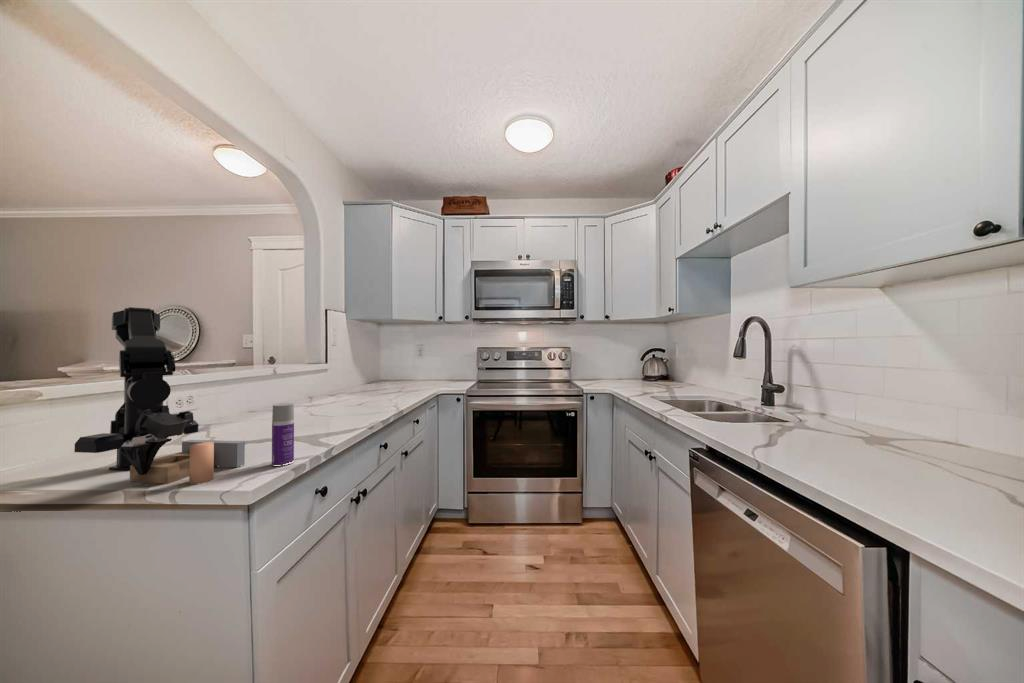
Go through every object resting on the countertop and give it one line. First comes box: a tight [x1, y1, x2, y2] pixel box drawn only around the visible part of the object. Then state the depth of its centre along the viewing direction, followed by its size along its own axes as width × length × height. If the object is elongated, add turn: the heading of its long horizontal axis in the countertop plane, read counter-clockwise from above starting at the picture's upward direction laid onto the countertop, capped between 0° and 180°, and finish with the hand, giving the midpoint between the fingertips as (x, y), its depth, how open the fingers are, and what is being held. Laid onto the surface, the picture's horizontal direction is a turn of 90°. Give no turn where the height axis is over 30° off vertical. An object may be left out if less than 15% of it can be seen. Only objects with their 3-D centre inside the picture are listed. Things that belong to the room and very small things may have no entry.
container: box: [271, 402, 295, 466], centre depth 88 cm, size 5×5×15 cm
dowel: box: [188, 442, 215, 485], centre depth 77 cm, size 4×4×8 cm
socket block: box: [129, 452, 190, 484], centre depth 81 cm, size 10×10×4 cm
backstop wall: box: [181, 439, 246, 468], centre depth 87 cm, size 16×2×6 cm, turn 82°
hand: (142, 474), depth 75 cm, fingers closed
